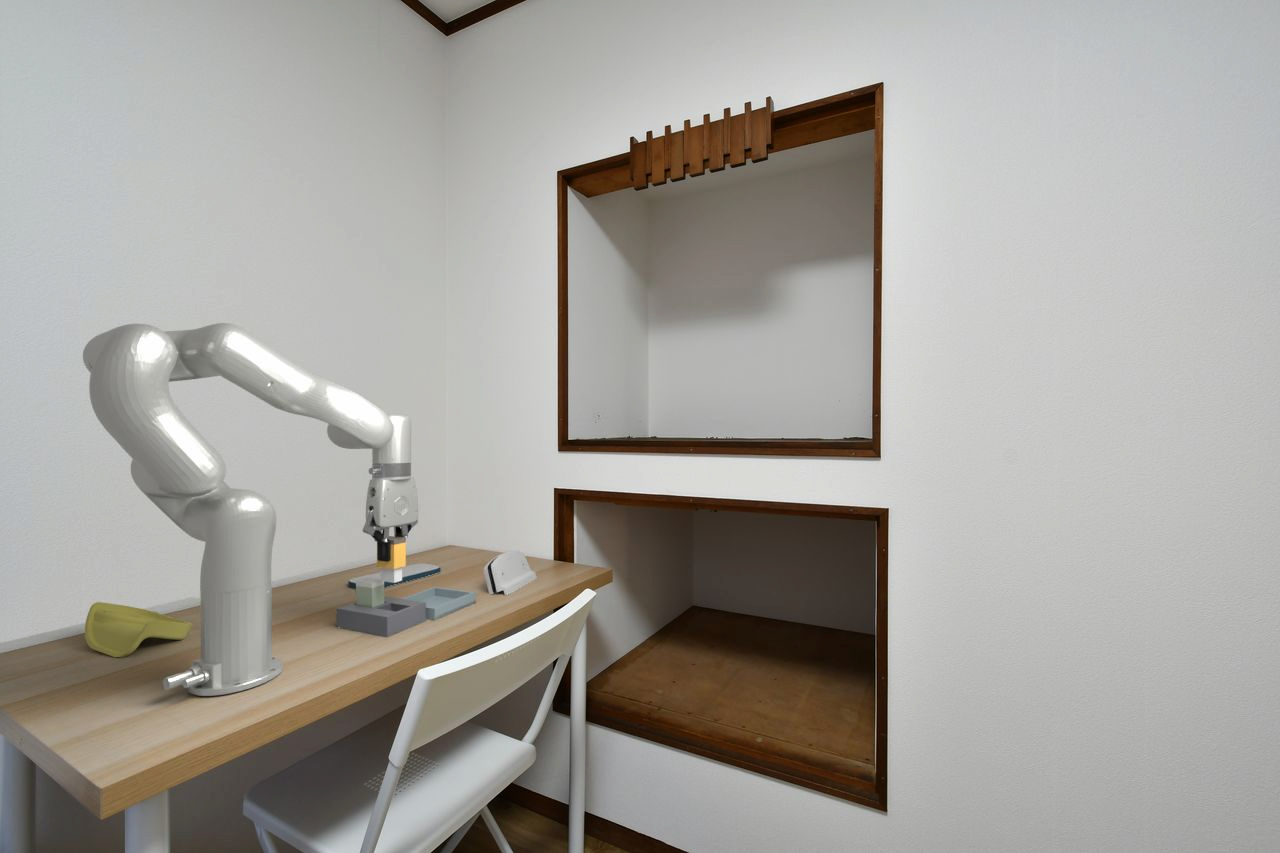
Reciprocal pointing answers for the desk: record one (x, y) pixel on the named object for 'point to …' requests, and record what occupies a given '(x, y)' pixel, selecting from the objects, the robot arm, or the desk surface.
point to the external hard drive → (407, 574)
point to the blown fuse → (394, 560)
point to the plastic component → (128, 628)
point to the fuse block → (379, 611)
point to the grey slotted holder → (508, 572)
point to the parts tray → (443, 601)
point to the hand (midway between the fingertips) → (391, 558)
